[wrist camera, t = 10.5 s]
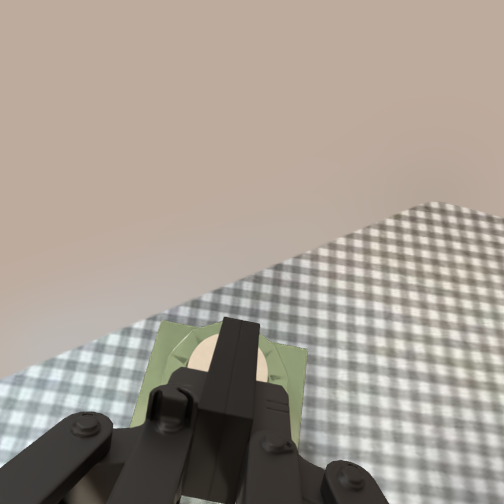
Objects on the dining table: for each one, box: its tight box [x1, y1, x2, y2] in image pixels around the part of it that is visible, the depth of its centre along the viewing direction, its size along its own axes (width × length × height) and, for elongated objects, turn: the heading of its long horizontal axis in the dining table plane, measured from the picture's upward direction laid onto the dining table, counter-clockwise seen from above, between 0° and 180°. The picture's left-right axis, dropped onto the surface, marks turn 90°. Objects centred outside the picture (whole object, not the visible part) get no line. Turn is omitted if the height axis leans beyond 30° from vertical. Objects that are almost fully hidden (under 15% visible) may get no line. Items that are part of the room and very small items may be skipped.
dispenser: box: [129, 320, 308, 449], centre depth 31 cm, size 10×8×14 cm
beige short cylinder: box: [187, 334, 268, 382], centre depth 24 cm, size 4×4×3 cm
